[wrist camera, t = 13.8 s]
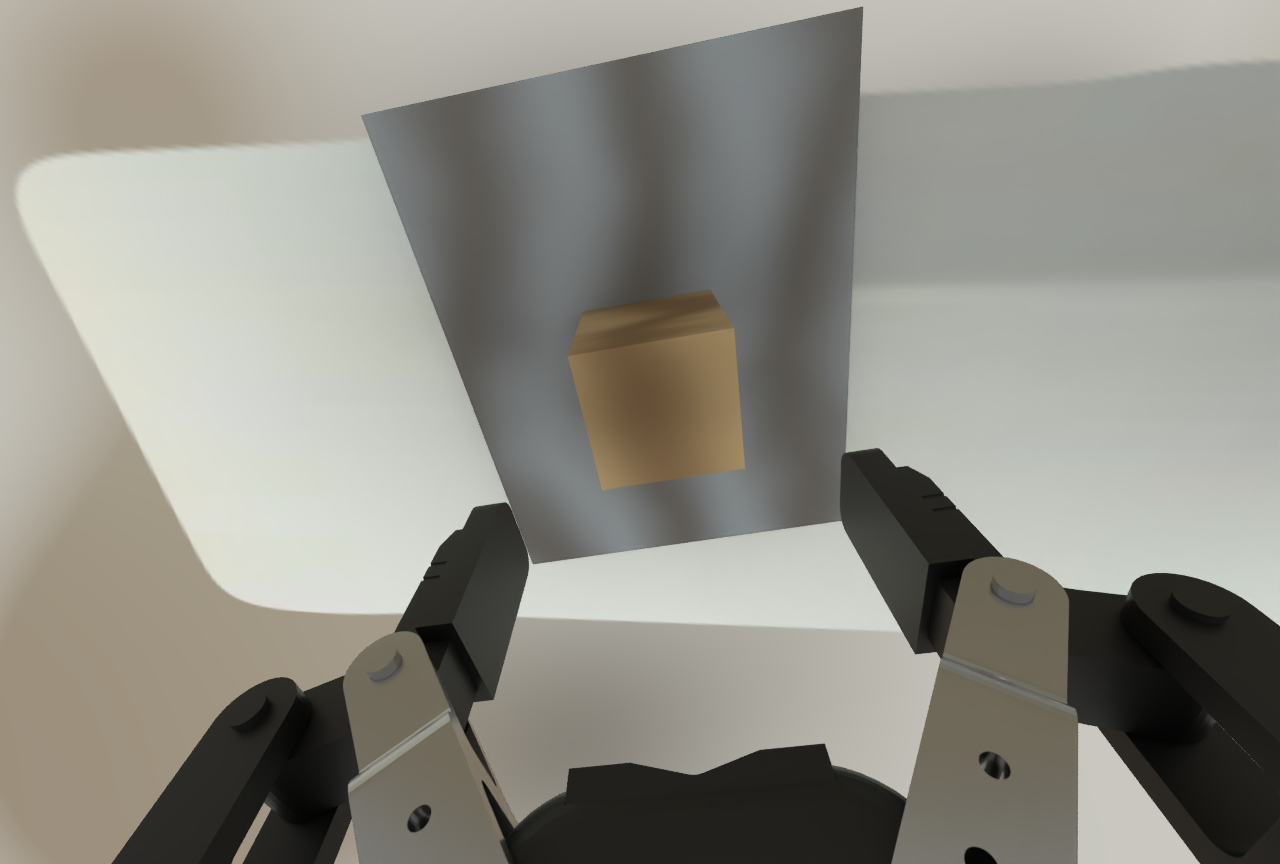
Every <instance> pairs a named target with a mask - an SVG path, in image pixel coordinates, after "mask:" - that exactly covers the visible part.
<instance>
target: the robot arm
mask: <svg viewBox="0 0 1280 864" xmlns="http://www.w3.org/2000/svg"><path fill="white" fill-rule="evenodd" d="M840 514H841V519H842V523H843V526H844V529H845V531H846V533H847V535H848V537H849V538H850V540H851V542H852V544H853V545H854V547H855V549H856V551H857V553H858V554H859V556H860V558H861V560H862V561H863V563H864V565H865V567H866V568H867V570H868V572H869V574H870V575H871V577H872V579H873V581H874V582H875V584H876V586H877V588H878V590H879V591H880V593H881V595H882V597H883V598H884V600H885V602H886V604H887V605H888V607H889V609H890V611H891V612H892V614H893V616H894V618H895V619H896V621H897V623H898V625H899V626H900V628H901V630H902V632H903V634H904V635H905V637H906V639H907V641H908V642H909V644H910V646H911V648H912V649H913V651H914V653H915V654H922V653H931V652H937V653H938V655H939V657H940V658H941V661H940V664H939V668H938V672H937V677H936V681H935V685H934V689H933V693H932V697H931V701H930V705H929V710H928V714H927V718H926V722H925V727H924V731H923V734H922V739H921V743H920V747H919V751H918V755H917V760H916V764H915V768H914V772H913V776H912V780H911V784H910V788H909V793H908V797H907V799H906V798H905V797H904V796H902V795H901V794H899V793H898V792H897V791H895V790H893V789H891V788H890V787H888V786H886V785H884V784H883V783H881V782H879V781H877V780H875V779H872V778H871V777H868V776H866V775H864V774H862V773H859V772H855V771H852V770H849V769H846V768H842V767H838V766H833V765H831V762H830V759H829V756H828V752H827V749H826V747H825V744H816V745H805V746H795V747H785V748H775V749H765V750H759V751H756V752H754V753H751V754H749V755H746V756H744V757H741V758H739V759H736V760H734V761H732V762H729V763H727V764H724V765H722V766H719V767H717V768H714V769H712V770H709V771H707V772H705V773H702V774H698V775H688V774H683V773H678V772H673V771H668V770H663V769H658V768H653V767H648V766H643V765H638V764H633V763H623V764H614V765H603V766H593V767H582V768H572V769H569V775H568V782H567V791H566V792H564V793H561V794H559V795H558V796H556V797H554V798H552V799H550V800H549V801H547V802H546V803H544V804H543V805H541V806H540V807H538V808H537V809H536V810H534V811H533V812H531V813H530V814H529V815H528V816H527V817H526V818H525V819H523V821H521V822H520V823H519V824H518V822H517V820H516V818H515V816H514V815H513V813H512V811H511V809H510V807H509V805H508V803H507V801H506V799H505V797H504V795H503V793H502V790H501V788H500V786H499V784H498V782H497V779H496V777H495V775H494V772H493V770H492V768H491V766H490V763H489V762H488V759H487V757H486V755H485V752H484V750H483V748H482V746H481V744H480V741H479V739H478V737H477V735H476V732H475V730H474V728H473V726H472V724H471V722H470V720H469V719H468V717H469V714H470V711H471V708H472V705H473V702H479V701H486V700H487V701H488V700H493V699H494V696H495V692H496V689H497V685H498V682H499V678H500V674H501V671H502V667H503V664H504V660H505V656H506V652H507V649H508V645H509V642H510V638H511V634H512V630H513V627H514V623H515V620H516V616H517V613H518V609H519V605H520V602H521V598H522V594H523V591H524V587H525V583H526V580H527V576H528V571H529V559H528V553H527V549H526V546H525V544H524V541H523V539H522V536H521V533H520V531H519V528H518V526H517V523H516V520H515V518H514V515H513V513H512V510H511V508H510V506H509V505H508V504H507V503H498V504H491V505H484V506H478V507H475V508H473V510H472V511H471V514H470V516H469V518H468V520H467V522H466V524H465V526H464V528H463V529H461V530H456V531H455V532H454V533H453V534H452V535H451V536H450V537H449V538H448V539H447V540H446V541H445V542H444V543H443V544H442V545H441V546H440V547H439V549H438V551H437V553H436V554H435V556H434V558H433V560H432V562H431V567H429V568H428V570H427V571H426V573H425V575H424V577H423V578H424V580H423V581H421V583H420V585H419V587H418V588H417V590H416V592H415V594H414V596H413V598H412V600H411V602H410V604H409V605H408V607H407V609H406V611H405V613H404V615H403V617H402V619H401V621H400V623H399V624H398V626H397V628H396V630H395V632H394V633H392V634H389V635H387V636H384V637H382V638H381V639H379V640H377V641H375V642H374V643H372V644H371V645H369V646H368V647H367V648H366V649H364V650H363V651H362V652H361V653H360V654H359V655H358V656H357V658H355V660H354V661H353V662H352V664H351V665H350V666H349V668H348V670H347V672H346V675H345V676H342V677H339V678H337V679H334V680H332V681H329V682H327V683H324V684H322V685H320V686H317V687H314V688H312V689H309V690H307V691H304V692H303V691H302V690H301V689H300V688H299V687H298V685H297V684H296V683H295V682H294V681H293V680H291V679H289V678H285V677H280V678H274V679H270V680H267V681H265V682H262V683H260V684H258V685H256V686H254V687H252V688H251V689H249V690H247V691H246V692H245V693H243V694H242V695H240V696H239V697H238V698H236V699H235V700H234V701H233V702H231V703H230V704H229V705H228V706H227V707H226V708H225V709H224V710H223V711H222V712H221V713H220V714H219V716H218V717H217V718H216V719H215V721H214V722H213V724H212V725H211V726H210V728H209V729H208V731H207V732H206V733H205V734H204V736H203V737H202V739H201V740H200V741H199V743H198V744H197V746H196V747H195V748H194V750H193V751H192V753H191V754H190V755H189V757H188V758H187V760H186V761H185V762H184V764H183V765H182V767H181V768H180V769H179V771H178V772H177V773H176V775H175V776H174V778H173V779H172V781H171V782H170V783H169V785H168V786H167V787H166V789H165V790H164V792H163V793H162V794H161V796H160V797H159V798H158V800H157V802H156V803H155V804H154V805H153V807H152V808H151V810H150V811H149V812H148V814H147V815H146V817H145V818H144V819H143V821H142V822H141V824H140V825H139V826H138V828H137V829H136V831H135V832H134V833H133V835H132V836H131V837H130V839H129V840H128V842H127V843H126V844H125V846H124V847H123V849H122V850H121V851H120V853H119V854H118V855H117V857H116V858H115V860H114V861H113V862H112V864H231V863H232V861H233V858H234V856H235V854H236V852H237V851H238V849H239V847H240V845H241V843H242V841H243V840H244V838H245V836H246V834H247V832H248V830H249V829H250V827H251V825H252V823H253V821H254V819H255V818H256V816H257V814H258V812H259V810H260V808H261V807H262V805H263V803H265V804H266V805H267V806H269V807H270V808H271V811H270V813H269V815H268V817H267V818H266V821H265V822H264V824H263V826H262V828H261V830H260V832H259V834H258V835H257V837H256V839H255V841H254V843H253V845H252V847H251V849H250V851H249V852H248V854H247V857H246V858H245V860H244V862H243V864H334V862H335V859H336V857H337V854H338V852H339V849H340V846H341V844H342V842H343V839H344V837H345V834H346V831H347V829H348V827H349V824H350V822H351V819H352V821H353V827H354V834H355V839H356V846H357V852H358V858H359V864H1077V863H1078V862H1077V861H1078V860H1077V859H1078V855H1077V852H1078V839H1077V838H1078V723H1082V724H1087V725H1092V726H1097V727H1098V728H1099V730H1100V731H1101V732H1102V733H1103V735H1104V736H1105V737H1106V739H1107V740H1108V742H1109V743H1110V744H1111V746H1112V747H1113V748H1114V750H1115V751H1116V752H1117V754H1118V755H1119V756H1120V758H1121V759H1122V760H1123V762H1124V763H1125V764H1126V765H1127V767H1128V768H1129V770H1130V771H1131V772H1132V774H1133V775H1134V776H1135V777H1136V779H1137V780H1138V781H1139V783H1140V784H1141V785H1142V787H1143V788H1144V789H1145V791H1146V792H1147V793H1148V795H1149V796H1150V797H1151V799H1152V800H1153V801H1154V803H1155V804H1156V805H1157V807H1158V808H1159V809H1160V811H1161V812H1162V813H1163V815H1164V816H1165V817H1166V819H1167V820H1168V821H1169V823H1170V824H1171V825H1172V827H1173V828H1174V829H1175V831H1176V832H1177V833H1178V834H1179V836H1180V837H1181V839H1182V840H1183V841H1184V843H1185V844H1186V845H1187V847H1188V848H1189V849H1190V851H1191V852H1192V853H1193V855H1194V856H1195V857H1196V859H1197V860H1198V861H1199V862H1200V864H1280V626H1279V625H1278V624H1276V623H1275V622H1274V621H1272V620H1271V619H1270V618H1268V617H1267V616H1266V615H1265V614H1263V613H1262V612H1261V611H1259V610H1258V609H1257V608H1255V607H1254V606H1253V605H1251V604H1250V603H1248V602H1247V601H1246V600H1244V599H1243V598H1241V597H1239V596H1237V595H1236V594H1234V593H1232V592H1230V591H1228V590H1226V589H1224V588H1222V587H1220V586H1217V585H1214V584H1212V583H1209V582H1206V581H1203V580H1200V579H1197V578H1193V577H1189V576H1184V575H1178V574H1170V573H1153V574H1147V575H1144V576H1141V577H1139V578H1137V579H1136V580H1135V581H1134V582H1133V583H1132V586H1131V588H1130V590H1129V592H1128V595H1118V594H1109V593H1101V592H1092V591H1083V590H1075V589H1068V588H1063V587H1062V586H1061V585H1060V584H1059V583H1058V582H1057V580H1055V579H1054V578H1053V577H1052V576H1050V575H1049V574H1048V573H1046V572H1044V571H1043V570H1041V569H1039V568H1037V567H1035V566H1033V565H1031V564H1028V563H1026V562H1023V561H1019V560H1016V559H1011V558H1005V557H1003V556H1002V555H1001V554H1000V553H999V552H998V551H997V550H996V549H995V547H994V546H993V545H992V544H991V543H990V542H989V541H988V540H987V539H986V538H985V537H984V536H983V535H982V534H981V533H980V531H979V530H978V529H977V528H976V527H975V526H974V525H973V524H972V523H971V522H970V521H969V520H968V519H967V518H966V517H965V515H964V514H963V513H962V512H961V511H960V510H959V509H958V510H957V509H956V506H955V505H954V504H953V503H952V502H951V501H950V499H949V498H948V497H947V496H944V493H943V492H942V491H941V490H940V489H939V488H938V487H937V486H936V485H935V483H934V482H933V481H932V480H931V479H930V478H929V477H927V476H925V475H923V474H921V473H919V472H917V471H916V470H914V469H912V468H910V467H908V466H904V467H897V468H896V467H895V465H894V464H893V463H892V462H891V461H890V460H889V458H888V457H887V456H886V455H885V454H884V453H883V451H882V450H880V449H879V448H875V449H868V450H862V451H855V452H848V453H844V454H843V455H842V458H841V479H840ZM1231 737H1232V738H1233V739H1234V740H1235V741H1236V742H1237V743H1238V744H1239V745H1240V746H1241V747H1242V748H1243V749H1242V748H1241V747H1240V746H1239V745H1238V744H1237V743H1236V742H1235V741H1234V740H1233V739H1232V738H1231Z"/></svg>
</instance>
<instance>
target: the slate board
mask: <svg viewBox="0 0 1280 864" xmlns="http://www.w3.org/2000/svg"><path fill="white" fill-rule="evenodd" d="M862 20H863V7H859V8H855V9H850V10H845V11H841V12H836V13H831V14H827V15H822V16H817V17H813V18H808V19H804V20H799V21H795V22H790V23H785V24H781V25H776V26H771V27H767V28H762V29H757V30H753V31H748V32H744V33H739V34H734V35H730V36H725V37H720V38H716V39H711V40H707V41H702V42H697V43H693V44H688V45H684V46H679V47H674V48H670V49H665V50H661V51H656V52H651V53H647V54H642V55H637V56H633V57H628V58H624V59H619V60H615V61H610V62H605V63H601V64H596V65H591V66H587V67H582V68H578V69H573V70H568V71H564V72H559V73H554V74H550V75H545V76H541V77H536V78H531V79H527V80H522V81H518V82H513V83H508V84H504V85H499V86H495V87H490V88H485V89H481V90H476V91H472V92H467V93H462V94H458V95H453V96H448V97H444V98H439V99H434V100H430V101H426V102H421V103H416V104H411V105H408V106H402V107H398V108H393V109H388V110H384V111H379V112H375V113H370V114H365V115H361V117H362V119H363V122H364V124H365V127H366V129H367V132H368V135H369V137H370V140H371V143H372V145H373V148H374V150H375V153H376V156H377V158H378V161H379V164H380V166H381V169H382V171H383V174H384V177H385V179H386V182H387V184H388V187H389V190H390V192H391V195H392V197H393V200H394V203H395V205H396V208H397V211H398V213H399V216H400V218H401V221H402V224H403V226H404V229H405V231H406V234H407V237H408V239H409V242H410V244H411V247H412V250H413V252H414V255H415V258H416V260H417V263H418V265H419V268H420V271H421V273H422V276H423V278H424V281H425V284H426V286H427V289H428V291H429V294H430V297H431V299H432V302H433V305H434V307H435V310H436V312H437V315H438V318H439V320H440V323H441V325H442V328H443V331H444V333H445V336H446V338H447V341H448V344H449V346H450V349H451V351H452V354H453V357H454V359H455V362H456V365H457V367H458V370H459V372H460V375H461V378H462V380H463V383H464V385H465V388H466V391H467V393H468V396H469V398H470V401H471V404H472V406H473V409H474V412H475V414H476V417H477V419H478V422H479V425H480V427H481V430H482V432H483V435H484V438H485V440H486V443H487V445H488V448H489V451H490V453H491V456H492V459H493V461H494V464H495V466H496V469H497V472H498V474H499V477H500V479H501V482H502V485H503V487H504V490H505V492H506V495H507V498H508V500H509V503H510V506H511V508H512V511H513V513H514V516H515V519H516V521H517V524H518V526H519V529H520V532H521V534H522V537H523V539H524V542H525V545H526V547H527V550H528V553H529V555H530V558H531V560H532V563H533V564H538V563H545V562H552V561H559V560H566V559H573V558H581V557H588V556H595V555H602V554H609V553H616V552H623V551H630V550H637V549H644V548H651V547H658V546H666V545H673V544H680V543H687V542H694V541H701V540H708V539H715V538H722V537H729V536H736V535H743V534H750V533H758V532H765V531H772V530H779V529H786V528H793V527H800V526H807V525H814V524H821V523H828V522H835V521H842V519H841V514H840V479H841V458H842V455H843V454H844V453H845V450H846V425H847V399H848V374H849V349H850V323H851V298H852V273H853V248H854V222H855V197H856V172H857V147H858V121H859V96H860V70H861V44H862ZM705 290H711V292H712V293H713V295H714V297H715V298H716V300H717V301H718V303H719V305H720V306H721V308H722V309H723V311H724V313H725V314H726V316H727V317H728V319H729V321H730V322H731V324H732V325H733V327H734V332H735V345H736V358H737V371H738V384H739V397H740V410H741V423H742V436H743V449H744V462H745V469H740V470H734V471H727V472H720V473H714V474H707V475H700V476H693V477H687V478H680V479H673V480H666V481H660V482H653V483H646V484H639V485H633V486H626V487H619V488H612V489H606V490H602V488H601V484H600V480H599V476H598V472H597V468H596V465H595V461H594V457H593V453H592V449H591V445H590V441H589V437H588V434H587V430H586V426H585V422H584V418H583V414H582V410H581V406H580V402H579V399H578V395H577V391H576V387H575V383H574V379H573V375H572V371H571V367H570V364H569V360H568V354H569V351H570V348H571V345H572V342H573V339H574V336H575V333H576V330H577V327H578V324H579V322H580V319H581V316H582V313H583V312H585V311H591V310H597V309H603V308H608V307H614V306H620V305H625V304H631V303H637V302H642V301H648V300H654V299H660V298H665V297H671V296H677V295H682V294H688V293H694V292H699V291H705Z"/></svg>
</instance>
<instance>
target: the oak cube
mask: <svg viewBox="0 0 1280 864" xmlns="http://www.w3.org/2000/svg"><path fill="white" fill-rule="evenodd" d="M568 360H569V364H570V367H571V371H572V375H573V379H574V383H575V387H576V391H577V395H578V399H579V402H580V406H581V410H582V414H583V418H584V422H585V426H586V430H587V434H588V437H589V441H590V445H591V449H592V453H593V457H594V461H595V465H596V468H597V472H598V476H599V480H600V484H601V488H602V490H606V489H612V488H619V487H626V486H633V485H639V484H646V483H653V482H660V481H666V480H673V479H680V478H687V477H693V476H700V475H707V474H714V473H720V472H727V471H734V470H740V469H745V462H744V449H743V436H742V423H741V410H740V397H739V384H738V371H737V358H736V345H735V332H734V327H733V325H732V324H731V322H730V321H729V319H728V317H727V316H726V314H725V313H724V311H723V309H722V308H721V306H720V305H719V303H718V301H717V300H716V298H715V297H714V295H713V293H712V292H711V290H705V291H699V292H694V293H688V294H682V295H677V296H671V297H665V298H660V299H654V300H648V301H642V302H637V303H631V304H625V305H620V306H614V307H608V308H603V309H597V310H591V311H585V312H583V313H582V316H581V319H580V322H579V324H578V327H577V330H576V333H575V336H574V339H573V342H572V345H571V348H570V351H569V354H568Z"/></svg>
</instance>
